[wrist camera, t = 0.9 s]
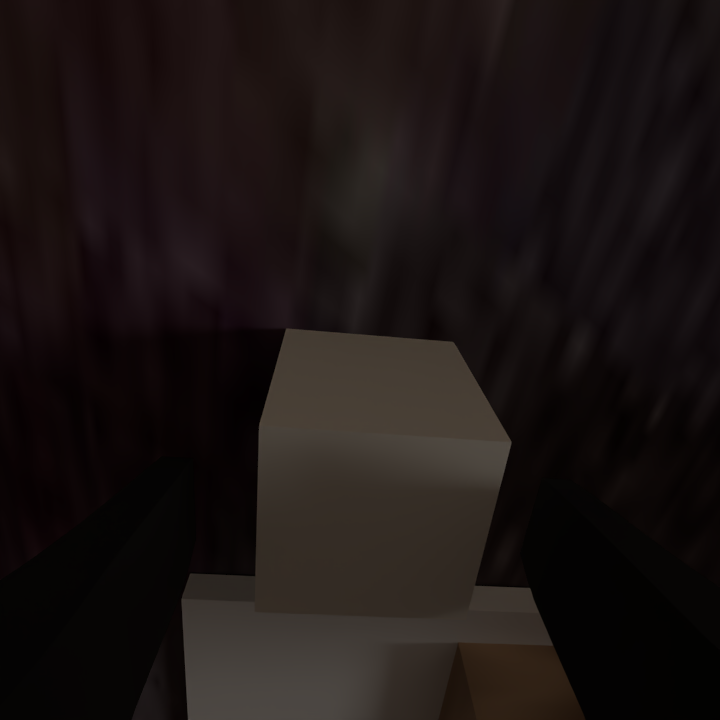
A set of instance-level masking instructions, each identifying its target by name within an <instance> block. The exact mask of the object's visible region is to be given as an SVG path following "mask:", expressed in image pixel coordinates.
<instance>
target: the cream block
mask: <svg viewBox="0 0 720 720" xmlns="http://www.w3.org/2000/svg"><path fill="white" fill-rule="evenodd" d="M511 443H512V442H511V440H510V439H509V437H508V435H507V433H506V432H505V430H504V428H503V426H502V425H501V423H500V421H499V420H498V418H497V416H496V414H495V413H494V411H493V409H492V407H491V406H490V404H489V402H488V401H487V399H486V397H485V395H484V394H483V392H482V390H481V389H480V387H479V385H478V383H477V382H476V380H475V378H474V376H473V375H472V373H471V371H470V370H469V368H468V366H467V364H466V363H465V361H464V359H463V357H462V356H461V354H460V352H459V351H458V349H457V347H456V345H455V344H454V342H446V341H434V340H421V339H409V338H396V337H384V336H372V335H359V334H347V333H335V332H322V331H310V330H297V329H286V331H285V335H284V338H283V342H282V345H281V349H280V353H279V356H278V360H277V363H276V367H275V371H274V374H273V378H272V381H271V385H270V388H269V392H268V396H267V399H266V403H265V406H264V410H263V413H262V417H261V421H260V424H259V448H258V489H257V530H256V571H255V612H262V613H289V614H316V615H343V616H370V617H397V618H424V619H451V620H466V617H467V614H468V610H469V606H470V602H471V598H472V594H473V590H474V586H475V583H476V579H477V575H478V571H479V567H480V563H481V559H482V555H483V552H484V548H485V544H486V540H487V536H488V532H489V528H490V524H491V521H492V517H493V513H494V509H495V505H496V501H497V497H498V493H499V490H500V486H501V482H502V478H503V474H504V470H505V466H506V462H507V459H508V455H509V451H510V447H511Z"/></svg>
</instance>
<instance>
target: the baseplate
mask: <svg viewBox="0 0 720 720" xmlns="http://www.w3.org/2000/svg"><path fill="white" fill-rule="evenodd" d="M181 601H182V619H183V637H184V656H185V674H186V692H187V710H188V720H438V719H439V715H440V711H441V708H442V704H443V700H444V696H445V692H446V688H447V684H448V680H449V676H450V672H451V669H452V665H453V661H454V657H455V653H456V649H457V645H458V642H462V643H491V644H520V645H549V646H553V644H552V641H551V639H550V637H549V635H548V632H547V630H546V628H545V625H544V623H543V621H542V618H541V616H540V614H539V611H538V609H537V606H536V604H535V602H534V599H533V596H532V592H531V589H530V588H517V587H493V586H474V590H473V594H472V598H471V602H470V606H469V610H468V614H467V617H466V620H451V619H424V618H397V617H370V616H343V615H316V614H289V613H262V612H255V576H238V575H215V574H192V573H190V575H189V578H188V581H187V584H186V587H185V590H184V593H183V596H182V599H181Z"/></svg>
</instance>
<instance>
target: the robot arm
mask: <svg viewBox="0 0 720 720" xmlns="http://www.w3.org/2000/svg"><path fill="white" fill-rule="evenodd" d="M195 540H196V527H195V500H194V472H193V458H179V457H161V458H159V459H158V460H157V461H156V462H154V463H153V464H152V465H151V466H149V467H148V468H147V469H146V470H144V471H143V472H142V473H141V474H140V475H139V476H137V477H136V478H135V479H134V480H133V481H131V482H130V483H129V484H128V485H127V486H125V487H124V488H123V489H122V490H121V491H119V492H118V493H117V494H116V495H115V496H113V497H112V498H111V499H110V500H109V501H107V502H106V503H105V504H104V505H102V506H101V507H100V508H99V509H97V510H96V511H95V512H94V513H92V514H91V515H90V516H89V517H87V518H86V519H85V520H84V521H82V522H81V523H80V524H79V525H77V526H76V527H75V528H73V529H72V530H71V531H69V532H68V533H67V534H65V535H64V536H63V537H61V538H60V539H59V540H57V541H56V542H54V543H53V544H52V545H50V546H49V547H48V548H46V549H45V550H44V551H42V552H41V553H40V554H38V555H37V556H35V557H34V558H33V559H31V560H30V561H28V562H27V563H25V564H24V565H22V566H21V567H20V568H18V569H17V570H15V571H14V572H12V573H11V574H9V575H8V576H6V577H5V578H3V579H2V580H0V720H131V719H132V716H133V714H134V711H135V708H136V705H137V703H138V700H139V698H140V695H141V693H142V690H143V688H144V685H145V683H146V680H147V678H148V675H149V673H150V670H151V667H152V665H153V662H154V660H155V657H156V655H157V652H158V650H159V647H160V645H161V642H162V640H163V637H164V635H165V632H166V630H167V627H168V625H169V622H170V619H171V617H172V614H173V612H174V609H175V607H176V604H177V602H178V599H179V596H180V594H181V591H182V588H183V585H184V582H185V578H186V575H187V571H188V567H189V564H190V560H191V556H192V552H193V548H194V544H195ZM520 554H521V558H522V561H523V565H524V569H525V572H526V576H527V579H528V583H529V586H530V589H531V592H532V596H533V599H534V602H535V604H536V606H537V609H538V611H539V614H540V616H541V618H542V621H543V623H544V625H545V628H546V630H547V632H548V635H549V637H550V639H551V641H552V644H553V646H554V648H555V651H556V653H557V655H558V657H559V660H560V662H561V664H562V667H563V669H564V671H565V673H566V676H567V678H568V680H569V683H570V685H571V687H572V689H573V692H574V694H575V696H576V698H577V701H578V703H579V705H580V708H581V710H582V712H583V714H584V717H585V720H720V587H718V586H717V585H715V584H714V583H712V582H711V581H709V580H708V579H706V578H705V577H703V576H702V575H701V574H699V573H698V572H696V571H695V570H693V569H692V568H690V567H689V566H688V565H686V564H685V563H683V562H682V561H681V560H679V559H678V558H676V557H675V556H674V555H672V554H671V553H669V552H668V551H667V550H665V549H664V548H663V547H661V546H660V545H658V544H657V543H656V542H654V541H653V540H652V539H650V538H649V537H648V536H646V535H645V534H644V533H642V532H641V531H640V530H638V529H637V528H636V527H634V526H633V525H632V524H630V523H629V522H628V521H626V520H625V519H624V518H622V517H621V516H620V515H619V514H617V513H616V512H615V511H613V510H612V509H611V508H609V507H608V506H607V505H605V504H604V503H603V502H601V501H600V500H599V499H597V498H596V497H595V496H593V495H592V494H590V493H589V492H588V491H586V490H585V489H583V488H582V487H581V486H579V485H578V484H576V483H574V482H573V481H571V480H565V479H548V478H542V481H541V484H540V488H539V491H538V494H537V498H536V501H535V504H534V508H533V511H532V515H531V518H530V521H529V525H528V528H527V531H526V535H525V538H524V542H523V545H522V548H521V552H520Z"/></svg>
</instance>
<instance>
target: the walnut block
mask: <svg viewBox="0 0 720 720" xmlns="http://www.w3.org/2000/svg"><path fill="white" fill-rule="evenodd" d="M438 720H585V717H584V714H583V712H582V710H581V708H580V705H579V703H578V701H577V698H576V696H575V694H574V692H573V689H572V687H571V685H570V683H569V680H568V678H567V676H566V673H565V671H564V669H563V667H562V664H561V662H560V660H559V657H558V655H557V653H556V651H555V648H554V646H549V645H520V644H491V643H462V642H458V645H457V649H456V653H455V657H454V661H453V665H452V669H451V672H450V676H449V680H448V684H447V688H446V692H445V696H444V700H443V704H442V708H441V711H440V715H439V719H438Z"/></svg>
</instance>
